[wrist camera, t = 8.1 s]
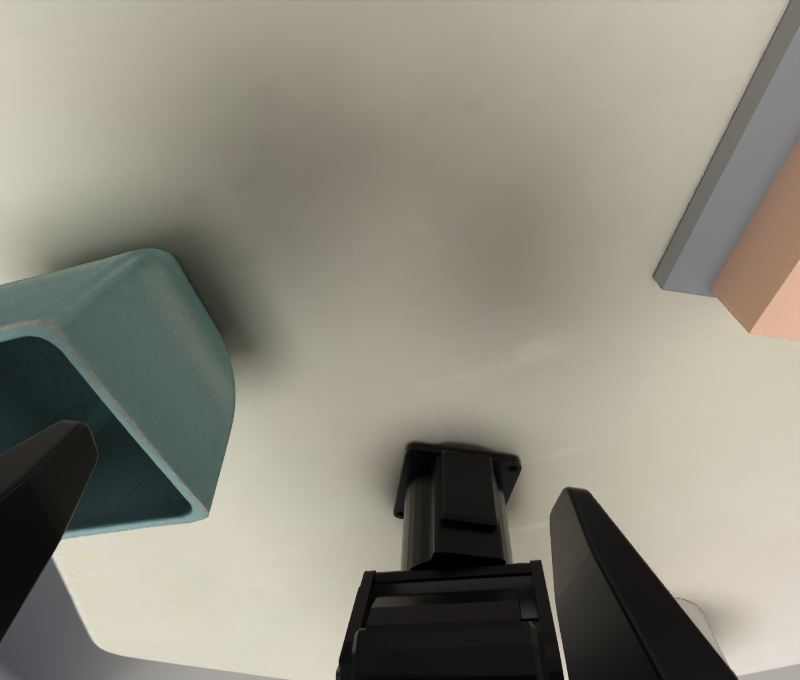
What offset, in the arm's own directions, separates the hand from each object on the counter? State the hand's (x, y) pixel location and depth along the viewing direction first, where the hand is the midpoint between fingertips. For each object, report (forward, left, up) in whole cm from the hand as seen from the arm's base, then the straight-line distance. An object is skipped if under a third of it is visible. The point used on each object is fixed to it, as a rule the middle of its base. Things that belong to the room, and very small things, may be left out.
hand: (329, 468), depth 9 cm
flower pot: (-6, +10, -13) cm, 17 cm away
